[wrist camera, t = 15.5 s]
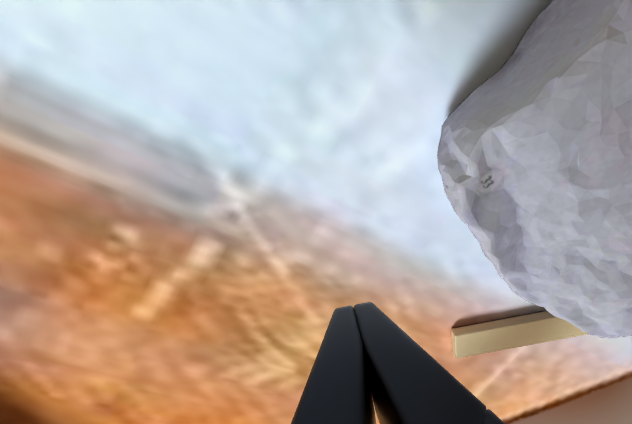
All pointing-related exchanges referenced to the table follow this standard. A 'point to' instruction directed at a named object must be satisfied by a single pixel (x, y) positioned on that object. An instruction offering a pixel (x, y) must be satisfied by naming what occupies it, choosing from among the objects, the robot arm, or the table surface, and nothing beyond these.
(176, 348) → the table surface
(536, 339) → the maple strip
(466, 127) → the stone block
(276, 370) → the table surface
